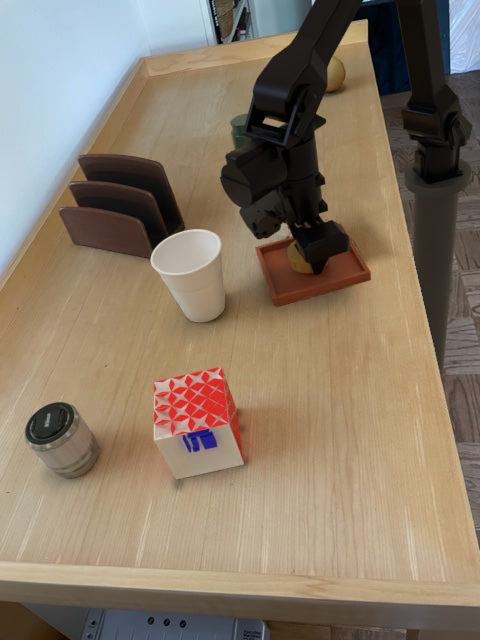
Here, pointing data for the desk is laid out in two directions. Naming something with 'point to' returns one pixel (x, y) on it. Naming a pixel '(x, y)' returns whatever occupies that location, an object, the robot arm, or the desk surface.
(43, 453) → the camera lens
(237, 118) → the jar
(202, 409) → the red white patterned cube
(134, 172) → the letter holder
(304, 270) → the lid
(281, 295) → the tray
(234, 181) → the robot arm
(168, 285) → the cup
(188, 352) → the desk surface
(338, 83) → the fruit
